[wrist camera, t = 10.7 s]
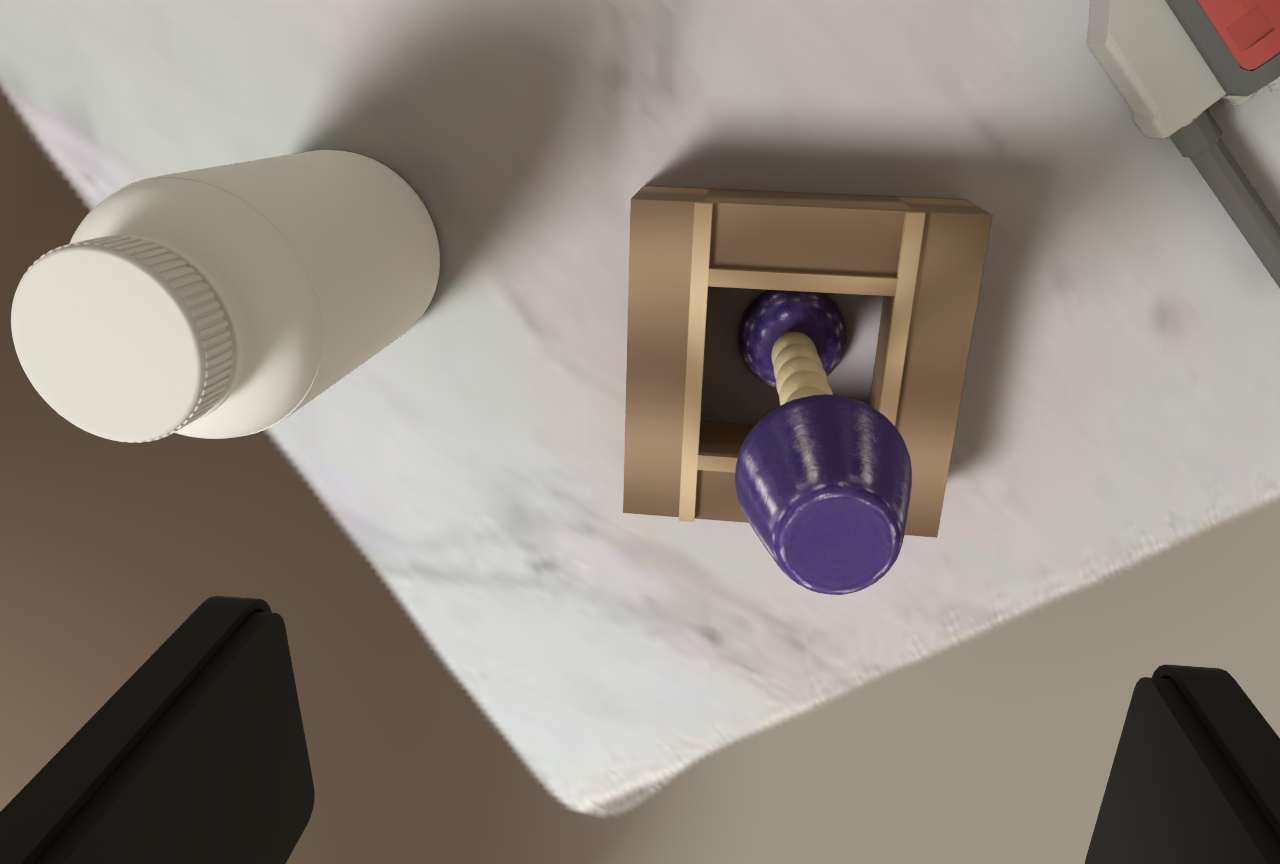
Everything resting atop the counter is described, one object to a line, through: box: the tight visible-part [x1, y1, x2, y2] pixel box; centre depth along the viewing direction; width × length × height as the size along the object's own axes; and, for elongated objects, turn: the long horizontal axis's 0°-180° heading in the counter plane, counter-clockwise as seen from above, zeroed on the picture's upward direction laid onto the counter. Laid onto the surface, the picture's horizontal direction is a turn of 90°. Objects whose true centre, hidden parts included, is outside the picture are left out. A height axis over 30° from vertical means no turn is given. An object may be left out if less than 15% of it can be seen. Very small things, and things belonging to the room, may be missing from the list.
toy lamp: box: [735, 290, 912, 595], centre depth 28 cm, size 5×5×17 cm
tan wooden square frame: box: [623, 186, 992, 537], centre depth 34 cm, size 12×12×4 cm
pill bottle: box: [11, 150, 440, 443], centre depth 30 cm, size 8×8×15 cm
